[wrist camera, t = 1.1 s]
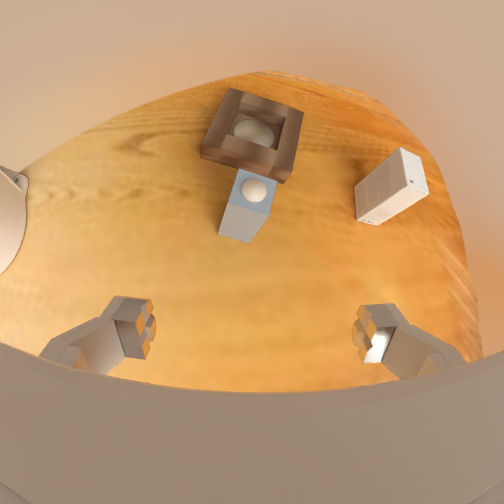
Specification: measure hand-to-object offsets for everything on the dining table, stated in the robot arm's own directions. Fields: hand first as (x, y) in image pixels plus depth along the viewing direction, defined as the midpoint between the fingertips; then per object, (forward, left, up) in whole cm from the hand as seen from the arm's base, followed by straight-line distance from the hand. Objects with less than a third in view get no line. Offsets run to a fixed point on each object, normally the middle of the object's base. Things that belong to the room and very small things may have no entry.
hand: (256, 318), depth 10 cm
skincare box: (+12, +26, -22) cm, 36 cm away
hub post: (-3, +12, -22) cm, 25 cm away
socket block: (-8, +25, -22) cm, 34 cm away
